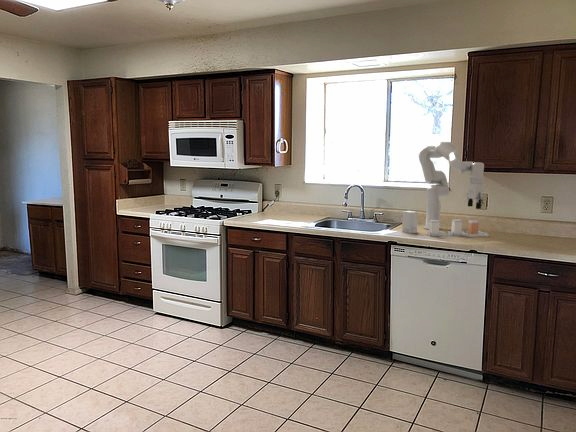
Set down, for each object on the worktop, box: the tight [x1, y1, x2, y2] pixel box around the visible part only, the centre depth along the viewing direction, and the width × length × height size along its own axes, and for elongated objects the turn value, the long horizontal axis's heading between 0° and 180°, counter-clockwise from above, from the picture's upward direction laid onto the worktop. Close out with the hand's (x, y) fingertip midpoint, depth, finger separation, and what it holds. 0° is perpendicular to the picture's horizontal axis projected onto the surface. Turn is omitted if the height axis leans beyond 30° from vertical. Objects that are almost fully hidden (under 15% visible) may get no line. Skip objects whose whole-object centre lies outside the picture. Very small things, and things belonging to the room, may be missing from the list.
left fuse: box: [428, 220, 440, 236], centre depth 302 cm, size 4×5×10 cm
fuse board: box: [424, 230, 465, 238], centre depth 304 cm, size 10×24×4 cm, turn 100°
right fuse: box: [450, 218, 463, 236], centre depth 305 cm, size 4×5×10 cm
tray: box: [462, 229, 489, 238], centre depth 308 cm, size 14×14×3 cm
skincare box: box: [401, 210, 419, 234], centre depth 315 cm, size 8×7×16 cm
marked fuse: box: [467, 220, 480, 234], centre depth 307 cm, size 4×5×10 cm
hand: (474, 207), depth 306 cm, fingers open, 9 cm apart
